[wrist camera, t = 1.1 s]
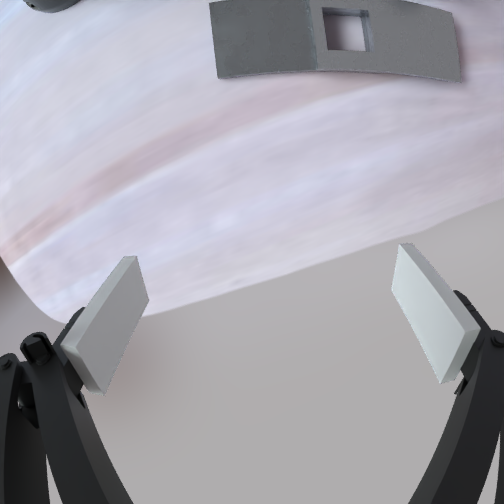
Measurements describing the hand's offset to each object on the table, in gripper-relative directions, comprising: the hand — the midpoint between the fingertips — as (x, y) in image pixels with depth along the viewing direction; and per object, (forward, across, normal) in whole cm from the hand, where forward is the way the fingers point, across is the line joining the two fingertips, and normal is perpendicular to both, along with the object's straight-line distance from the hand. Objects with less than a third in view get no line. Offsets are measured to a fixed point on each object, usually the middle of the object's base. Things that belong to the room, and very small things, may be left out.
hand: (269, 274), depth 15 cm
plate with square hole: (+24, +10, +17) cm, 31 cm away
